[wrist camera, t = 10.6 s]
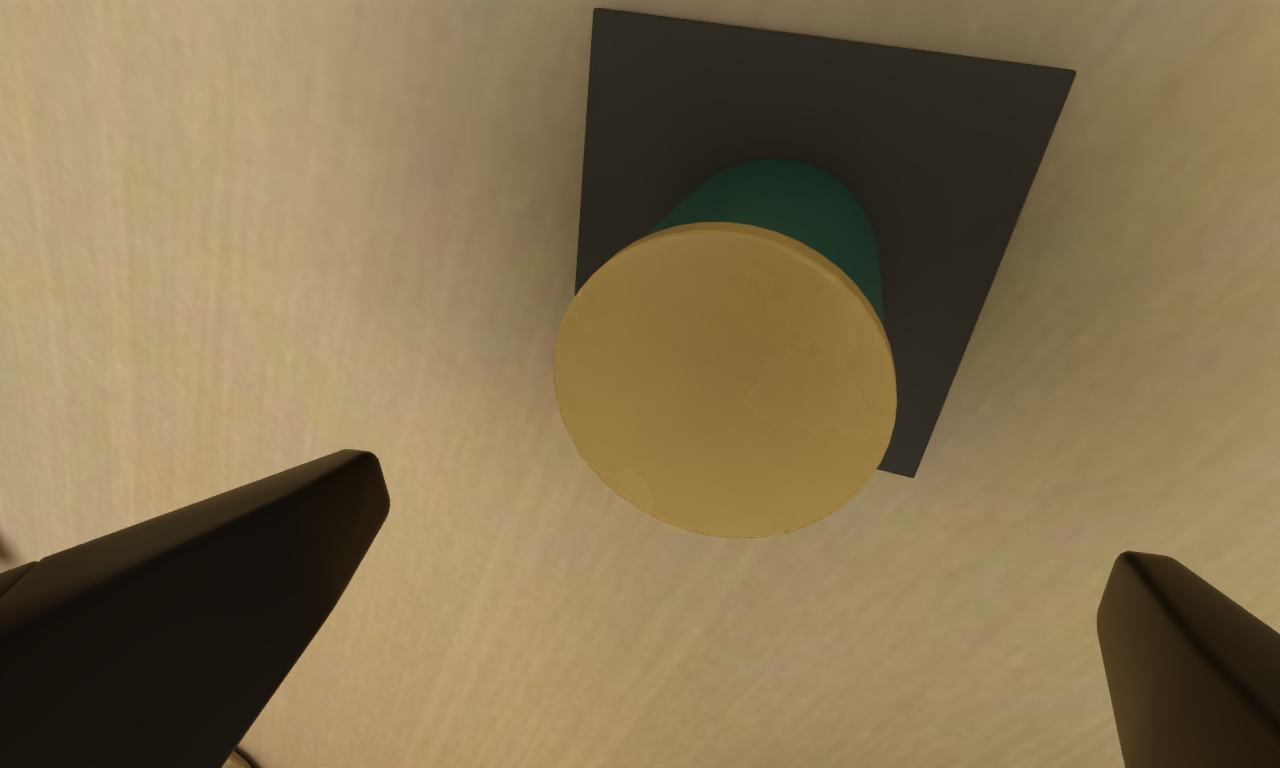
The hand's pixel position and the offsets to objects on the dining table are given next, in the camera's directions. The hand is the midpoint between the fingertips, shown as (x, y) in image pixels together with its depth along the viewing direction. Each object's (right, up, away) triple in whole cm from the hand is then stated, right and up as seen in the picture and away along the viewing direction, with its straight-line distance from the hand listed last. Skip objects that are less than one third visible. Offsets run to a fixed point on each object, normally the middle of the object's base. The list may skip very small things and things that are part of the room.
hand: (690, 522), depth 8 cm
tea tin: (+3, +5, +8) cm, 10 cm away
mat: (+3, +5, +9) cm, 10 cm away
